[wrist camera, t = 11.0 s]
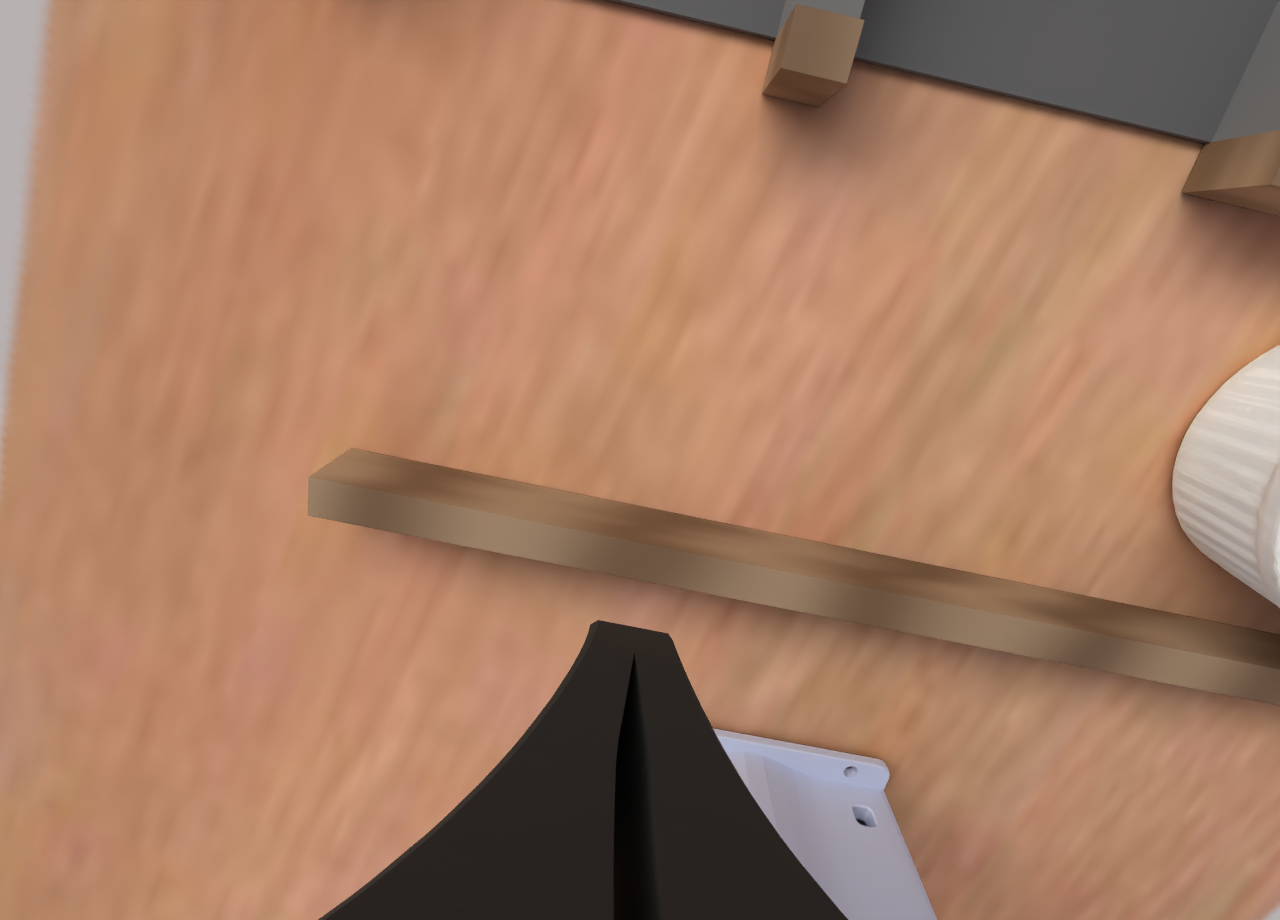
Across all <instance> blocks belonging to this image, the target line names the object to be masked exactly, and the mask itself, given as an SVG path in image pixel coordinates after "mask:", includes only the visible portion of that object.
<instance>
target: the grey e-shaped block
mask: <svg viewBox="0 0 1280 920" xmlns="http://www.w3.org/2000/svg"><path fill="white" fill-rule="evenodd" d="M609 1H613V2H618V3H622V4H626V5H630V6H634V7H638V8H643V9H647V10H651V11H655V12H659V13H663V14H668V15H672V16H676V17H680V18H684V19H688V20H693V21H697V22H701V23H705V24H709V25H713V26H718V27H722V28H726V29H730V30H734V31H738V32H743V33H747V34H751V35H755V36H759V37H763V38H768V39H772V40H775V39H776V37H777V36H778V34H779V32H780V31H781V29H782V27H783V26H784V24H785V22H786V21H787V19H788V17H789V15H790V14H791V12H792V10H793V9H794V7H795V5H796V4H800V5H805V6H809V7H813V8H817V9H821V10H825V11H829V12H833V13H837V14H842V15H846V16H850V17H854V18H858V19H862V20H865V21H864V24H863V28H862V31H861V35H860V38H859V42H858V45H857V49H856V52H855V56H854V59H855V60H859V61H863V62H868V63H872V64H876V65H880V66H884V67H888V68H893V69H897V70H901V71H905V72H909V73H913V74H918V75H922V76H926V77H930V78H934V79H938V80H943V81H947V82H951V83H955V84H959V85H963V86H968V87H972V88H976V89H980V90H984V91H989V92H993V93H997V94H1001V95H1005V96H1009V97H1014V98H1018V99H1022V100H1026V101H1030V102H1034V103H1039V104H1043V105H1047V106H1051V107H1055V108H1059V109H1064V110H1068V111H1072V112H1076V113H1080V114H1084V115H1089V116H1093V117H1097V118H1101V119H1105V120H1109V121H1114V122H1118V123H1122V124H1126V125H1130V126H1134V127H1139V128H1143V129H1147V130H1151V131H1155V132H1159V133H1164V134H1168V135H1172V136H1176V137H1180V138H1184V139H1189V140H1193V141H1197V142H1201V143H1209V142H1215V141H1221V140H1226V139H1232V138H1237V137H1243V136H1248V135H1254V134H1260V133H1265V132H1271V131H1276V130H1280V0H609Z"/></svg>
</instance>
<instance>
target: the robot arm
mask: <svg viewBox="0 0 1280 920" xmlns="http://www.w3.org/2000/svg"><path fill="white" fill-rule="evenodd" d="M852 766H853V767H852ZM847 767H851V768H849V769H845V768H847ZM889 778H890V772H889V769H888V767H887V765H886V763H885V762H884V761H882V760H880V759H876V758H870V757H865V756H860V755H854V754H849V753H843V752H838V751H833V750H827V749H822V748H816V747H811V746H806V745H800V744H795V743H789V742H784V741H779V740H773V739H768V738H762V737H757V736H752V735H746V734H741V733H735V732H730V731H725V730H719V729H714V728H712V726H711V724H710V722H709V720H708V718H707V716H706V714H705V712H704V710H703V708H702V706H701V705H700V702H699V700H698V698H697V696H696V694H695V692H694V690H693V688H692V686H691V683H690V681H689V679H688V677H687V675H686V672H685V670H684V668H683V665H682V663H681V660H680V658H679V656H678V653H677V651H676V648H675V645H674V643H673V640H672V639H671V637H670V636H669V634H668V633H662V632H657V631H652V630H647V629H641V628H636V627H631V626H626V625H621V624H615V623H610V622H605V621H600V620H598V621H596V622H594V623H592V624H591V625H590V629H589V632H588V635H587V638H586V640H585V643H584V645H583V647H582V649H581V651H580V653H579V655H578V657H577V658H576V660H575V662H574V664H573V666H572V667H571V669H570V671H569V672H568V674H567V675H566V677H565V678H564V680H563V681H562V683H561V684H560V686H559V687H558V689H557V691H556V692H555V694H554V695H553V697H552V698H551V699H550V701H549V702H548V704H547V705H546V706H545V707H544V709H543V710H542V711H541V713H540V714H539V715H538V717H537V718H536V719H535V720H534V722H533V723H532V724H531V726H530V727H529V728H528V730H527V731H526V732H525V733H524V735H523V736H522V737H521V738H520V739H519V741H518V742H517V743H516V744H515V745H514V747H513V748H512V749H511V750H510V751H509V752H508V753H507V755H506V756H505V757H504V758H503V759H502V760H501V761H500V762H499V763H498V765H497V766H496V767H495V768H494V769H493V770H492V771H491V772H490V773H489V774H488V775H487V776H486V778H485V779H484V780H483V781H482V782H481V783H480V784H479V785H478V786H477V787H476V788H475V789H474V790H473V791H472V792H471V793H470V794H469V795H468V796H466V797H465V798H464V799H463V800H462V801H461V802H460V803H459V804H458V805H457V806H456V807H455V808H454V809H453V810H452V811H451V812H450V813H449V814H448V815H447V816H446V817H445V818H444V819H443V820H442V821H440V822H439V823H438V824H437V825H436V826H435V827H434V828H433V829H432V830H431V831H429V832H428V833H427V834H426V835H425V836H424V837H422V838H421V839H420V840H419V841H418V842H416V843H415V844H414V845H413V846H412V847H410V848H409V849H408V850H407V851H406V852H404V853H403V854H402V855H401V856H400V857H399V858H397V859H396V860H395V861H394V862H393V863H391V864H390V865H389V866H388V867H387V868H385V869H384V870H383V871H382V872H381V873H379V874H378V875H377V876H376V877H375V878H373V879H372V880H371V881H370V882H368V883H367V884H366V885H365V886H363V887H362V888H361V889H359V890H358V891H357V892H356V893H354V894H353V895H352V896H350V897H349V898H348V899H346V900H345V901H343V902H342V903H341V904H339V905H338V906H337V907H335V908H334V909H332V910H331V911H330V912H328V913H327V914H325V915H324V916H323V917H321V918H320V919H319V920H937V918H936V915H935V913H934V910H933V908H932V906H931V903H930V901H929V898H928V896H927V894H926V891H925V889H924V886H923V884H922V882H921V879H920V877H919V874H918V872H917V870H916V867H915V865H914V862H913V860H912V857H911V855H910V853H909V850H908V848H907V845H906V843H905V841H904V838H903V836H902V833H901V831H900V829H899V826H898V824H897V821H896V819H895V816H894V814H893V812H892V809H891V807H890V804H889V802H888V800H887V797H886V795H885V792H884V789H885V787H886V784H887V782H888V780H889Z"/></svg>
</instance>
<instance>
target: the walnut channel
mask: <svg viewBox="0 0 1280 920" xmlns="http://www.w3.org/2000/svg"><path fill="white" fill-rule="evenodd" d="M864 21H865V20H862V19H858V18H854V17H850V16H846V15H842V14H837V13H833V12H829V11H825V10H821V9H817V8H813V7H809V6H805V5H800V4H796V5H795V7H794V9H793V10H792V12H791V14H790V15H789V17H788V19H787V21H786V22H785V24H784V26H783V27H782V29H781V31H780V32H779V34H778V36H777V37H776V39H775V42H774V46H773V50H772V54H771V58H770V62H769V67H768V71H767V75H766V79H765V83H764V87H763V91H762V94H764V95H768V96H773V97H777V98H781V99H785V100H790V101H794V102H798V103H802V104H807V105H811V106H815V107H819V106H820V105H821V104H823V103H824V102H825V101H826V100H828V99H829V98H830V97H831V96H832V95H834V94H835V93H836V92H837V91H838V90H840V89H841V88H842V87H843V86H844V85H846V84H847V81H848V77H849V74H850V70H851V67H852V63H853V60H854V56H855V52H856V49H857V45H858V42H859V38H860V35H861V31H862V28H863V24H864ZM1182 193H1185V194H1189V195H1193V196H1197V197H1202V198H1206V199H1210V200H1214V201H1219V202H1223V203H1227V204H1231V205H1236V206H1240V207H1244V208H1248V209H1253V210H1257V211H1261V212H1265V213H1270V214H1274V215H1278V216H1280V130H1276V131H1271V132H1265V133H1260V134H1254V135H1248V136H1243V137H1237V138H1232V139H1226V140H1221V141H1215V142H1209V143H1205V144H1204V146H1203V148H1202V150H1201V152H1200V154H1199V156H1198V159H1197V161H1196V163H1195V165H1194V167H1193V169H1192V171H1191V173H1190V176H1189V178H1188V180H1187V182H1186V184H1185V186H1184V188H1183V190H1182ZM308 516H313V517H318V518H323V519H328V520H333V521H338V522H344V523H349V524H354V525H359V526H364V527H369V528H374V529H379V530H384V531H390V532H395V533H400V534H405V535H410V536H415V537H420V538H425V539H430V540H436V541H441V542H446V543H451V544H456V545H461V546H466V547H471V548H477V549H482V550H487V551H492V552H497V553H502V554H507V555H512V556H517V557H523V558H528V559H533V560H538V561H543V562H548V563H553V564H558V565H563V566H569V567H574V568H579V569H584V570H589V571H594V572H599V573H604V574H609V575H615V576H620V577H625V578H630V579H635V580H640V581H645V582H650V583H655V584H661V585H666V586H671V587H676V588H681V589H686V590H691V591H696V592H702V593H707V594H712V595H717V596H722V597H727V598H732V599H737V600H742V601H748V602H753V603H758V604H763V605H768V606H773V607H778V608H783V609H788V610H794V611H799V612H804V613H809V614H814V615H819V616H824V617H829V618H834V619H840V620H845V621H850V622H855V623H860V624H865V625H870V626H875V627H880V628H886V629H891V630H896V631H901V632H906V633H911V634H916V635H921V636H927V637H932V638H937V639H942V640H947V641H952V642H957V643H962V644H967V645H973V646H978V647H983V648H988V649H993V650H998V651H1003V652H1008V653H1013V654H1019V655H1024V656H1029V657H1034V658H1039V659H1044V660H1049V661H1054V662H1059V663H1065V664H1070V665H1075V666H1080V667H1085V668H1090V669H1095V670H1100V671H1105V672H1111V673H1116V674H1121V675H1126V676H1131V677H1136V678H1141V679H1146V680H1152V681H1157V682H1162V683H1167V684H1172V685H1177V686H1182V687H1187V688H1192V689H1198V690H1203V691H1208V692H1213V693H1218V694H1223V695H1228V696H1233V697H1238V698H1244V699H1249V700H1254V701H1259V702H1264V703H1269V704H1274V705H1279V706H1280V635H1277V634H1272V633H1267V632H1262V631H1257V630H1252V629H1247V628H1242V627H1237V626H1232V625H1227V624H1222V623H1217V622H1212V621H1207V620H1203V619H1198V618H1193V617H1188V616H1183V615H1178V614H1173V613H1168V612H1163V611H1158V610H1153V609H1148V608H1143V607H1138V606H1133V605H1128V604H1123V603H1118V602H1113V601H1108V600H1103V599H1098V598H1093V597H1088V596H1083V595H1078V594H1073V593H1068V592H1063V591H1058V590H1053V589H1049V588H1044V587H1039V586H1034V585H1029V584H1024V583H1019V582H1014V581H1009V580H1004V579H999V578H994V577H989V576H984V575H979V574H974V573H969V572H964V571H959V570H954V569H949V568H944V567H939V566H934V565H929V564H924V563H919V562H914V561H909V560H904V559H899V558H895V557H890V556H885V555H880V554H875V553H870V552H865V551H860V550H855V549H850V548H845V547H840V546H835V545H830V544H825V543H820V542H815V541H810V540H805V539H800V538H795V537H790V536H785V535H780V534H775V533H770V532H765V531H760V530H755V529H750V528H745V527H741V526H736V525H731V524H726V523H721V522H716V521H711V520H706V519H701V518H696V517H691V516H686V515H681V514H676V513H671V512H666V511H661V510H656V509H651V508H646V507H641V506H636V505H631V504H626V503H621V502H616V501H611V500H606V499H601V498H596V497H591V496H587V495H582V494H577V493H572V492H567V491H562V490H557V489H552V488H547V487H542V486H537V485H532V484H527V483H522V482H517V481H512V480H507V479H502V478H497V477H492V476H487V475H482V474H477V473H472V472H467V471H462V470H457V469H452V468H447V467H442V466H437V465H433V464H428V463H423V462H418V461H413V460H408V459H403V458H398V457H393V456H388V455H383V454H378V453H373V452H368V451H363V450H358V449H353V448H351V449H349V450H348V451H346V452H345V453H343V454H342V455H340V456H339V457H337V458H336V459H335V460H333V461H332V462H330V463H329V464H327V465H326V466H324V467H323V468H321V469H320V470H318V471H317V472H315V473H314V474H312V475H311V476H309V488H308Z"/></svg>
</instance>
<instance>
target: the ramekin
mask: <svg viewBox="0 0 1280 920" xmlns="http://www.w3.org/2000/svg"><path fill="white" fill-rule="evenodd" d="M1172 493H1173V503H1174V506H1175V512H1176V516H1177V518H1178V520H1179V523H1180V525H1181V528H1182V529H1183V531H1184V532H1185V534H1186V535H1187V537H1188V538H1189V539H1190V541H1191V542H1192V543H1193V544H1194V545H1195V546H1196V547H1197V548H1198V549H1199V550H1200V551H1201V552H1202V553H1203V554H1204V555H1206V556H1207V557H1208V558H1210V559H1211V560H1212V561H1214V562H1215V563H1217V564H1218V565H1219V566H1221V567H1222V568H1223V569H1225V570H1226V571H1227V572H1229V573H1230V574H1232V575H1233V576H1234V577H1236V578H1237V579H1239V580H1240V581H1242V582H1243V583H1245V584H1246V585H1248V586H1249V587H1250V588H1252V589H1253V590H1255V591H1256V592H1258V593H1259V594H1261V595H1262V596H1264V597H1265V598H1266V599H1268V600H1269V601H1271V602H1272V603H1274V604H1275V605H1277V606H1278V607H1279V608H1280V345H1278V346H1276V347H1274V348H1273V349H1271V350H1269V351H1267V352H1266V353H1264V354H1262V355H1261V356H1259V357H1258V358H1256V359H1255V360H1253V361H1252V362H1250V363H1249V364H1247V365H1246V366H1244V367H1243V368H1242V369H1241V370H1239V371H1238V372H1237V373H1236V374H1234V375H1233V376H1232V377H1231V378H1230V379H1229V380H1227V381H1226V382H1225V383H1224V384H1223V385H1222V386H1221V387H1220V388H1219V389H1218V390H1217V391H1216V392H1215V393H1214V395H1213V396H1212V397H1211V398H1210V399H1209V400H1208V402H1207V403H1206V404H1205V405H1204V407H1203V408H1202V409H1201V410H1200V412H1199V413H1198V414H1197V416H1196V417H1195V419H1194V420H1193V422H1192V424H1191V425H1190V427H1189V429H1188V431H1187V432H1186V434H1185V436H1184V438H1183V441H1182V443H1181V446H1180V448H1179V451H1178V454H1177V457H1176V461H1175V465H1174V470H1173V481H1172Z"/></svg>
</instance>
